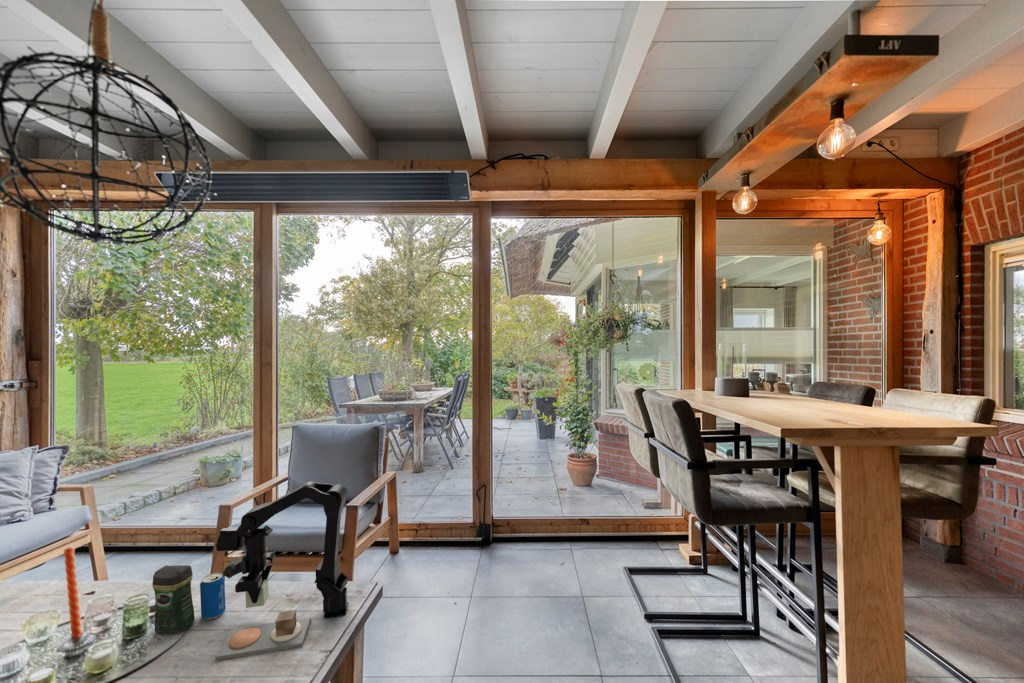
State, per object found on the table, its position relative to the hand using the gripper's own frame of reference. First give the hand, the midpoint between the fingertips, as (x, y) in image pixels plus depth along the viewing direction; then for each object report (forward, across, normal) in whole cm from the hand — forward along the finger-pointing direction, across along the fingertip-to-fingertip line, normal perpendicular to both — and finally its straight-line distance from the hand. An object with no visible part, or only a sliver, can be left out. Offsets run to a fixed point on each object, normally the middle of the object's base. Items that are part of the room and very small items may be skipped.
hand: (257, 597), depth 143 cm
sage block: (+1, 0, 0) cm, 1 cm away
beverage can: (+6, -5, -14) cm, 16 cm away
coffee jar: (+6, -1, -23) cm, 24 cm away
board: (+6, +12, +6) cm, 15 cm away
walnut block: (+4, +12, +11) cm, 17 cm away
